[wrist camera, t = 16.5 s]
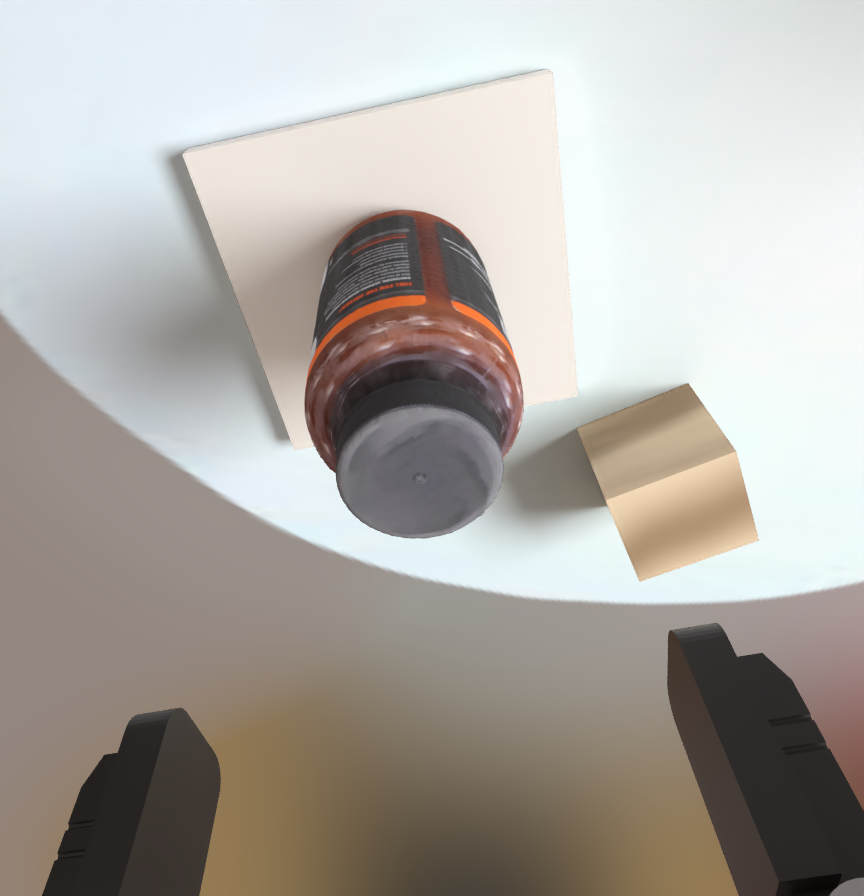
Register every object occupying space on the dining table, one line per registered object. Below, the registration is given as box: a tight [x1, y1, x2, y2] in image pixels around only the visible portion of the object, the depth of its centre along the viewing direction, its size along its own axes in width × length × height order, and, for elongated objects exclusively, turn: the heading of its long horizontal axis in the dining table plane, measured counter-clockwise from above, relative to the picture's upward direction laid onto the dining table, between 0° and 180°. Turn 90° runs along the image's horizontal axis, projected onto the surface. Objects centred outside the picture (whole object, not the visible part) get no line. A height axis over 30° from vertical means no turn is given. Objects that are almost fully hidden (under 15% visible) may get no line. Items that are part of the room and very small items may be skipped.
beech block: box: [576, 384, 759, 581], centre depth 29 cm, size 5×5×5 cm
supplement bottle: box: [304, 210, 523, 538], centre depth 21 cm, size 6×6×11 cm
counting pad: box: [182, 69, 578, 450], centre depth 26 cm, size 12×12×1 cm
